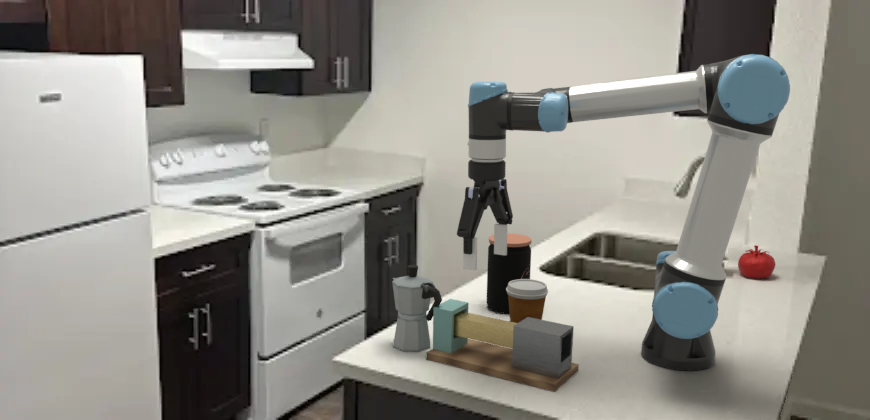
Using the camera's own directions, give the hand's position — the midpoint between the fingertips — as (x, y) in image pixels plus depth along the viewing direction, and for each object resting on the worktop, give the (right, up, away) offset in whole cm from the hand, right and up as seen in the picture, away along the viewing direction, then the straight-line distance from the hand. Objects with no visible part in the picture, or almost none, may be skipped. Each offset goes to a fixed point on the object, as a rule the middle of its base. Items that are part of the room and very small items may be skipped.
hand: (485, 261), depth 167 cm
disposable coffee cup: (+10, -18, +18) cm, 27 cm away
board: (+3, -21, 0) cm, 22 cm away
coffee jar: (+8, -14, +37) cm, 40 cm away
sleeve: (+11, -21, -5) cm, 24 cm away
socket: (-7, -18, +6) cm, 21 cm away
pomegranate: (+83, -9, +69) cm, 108 cm away
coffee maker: (-15, -19, +10) cm, 26 cm away
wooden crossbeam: (+1, -16, 0) cm, 16 cm away
